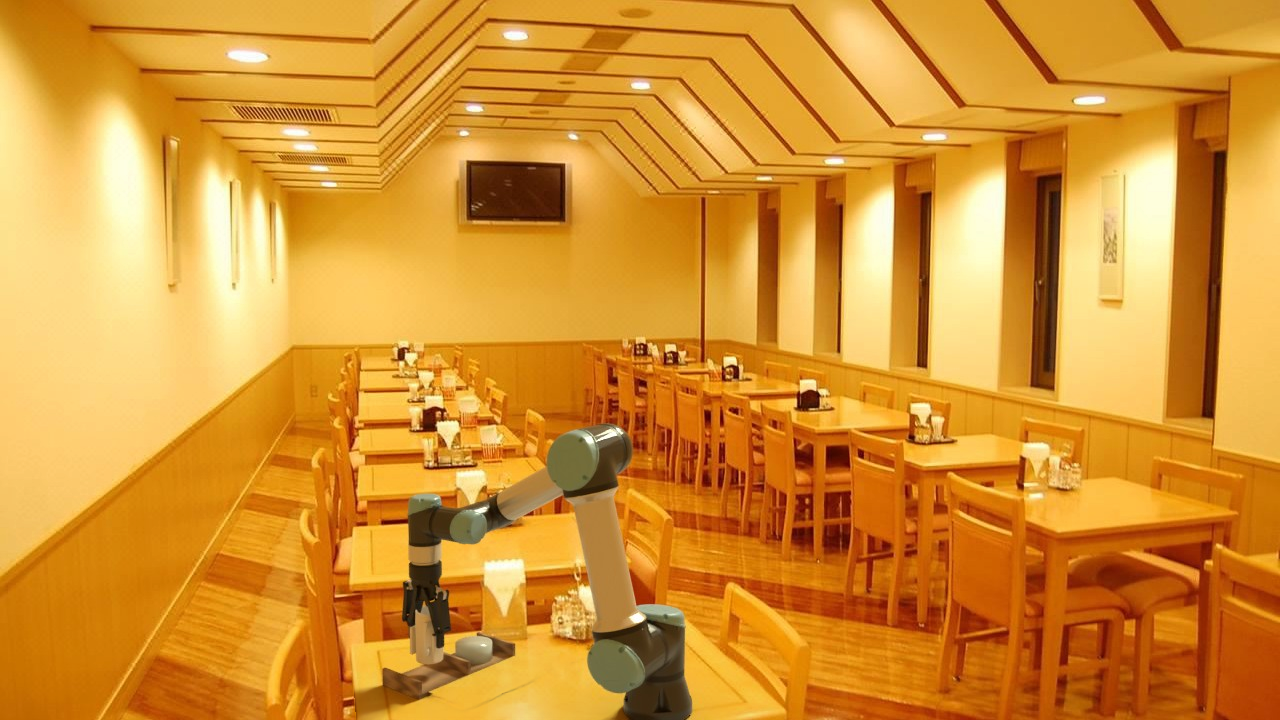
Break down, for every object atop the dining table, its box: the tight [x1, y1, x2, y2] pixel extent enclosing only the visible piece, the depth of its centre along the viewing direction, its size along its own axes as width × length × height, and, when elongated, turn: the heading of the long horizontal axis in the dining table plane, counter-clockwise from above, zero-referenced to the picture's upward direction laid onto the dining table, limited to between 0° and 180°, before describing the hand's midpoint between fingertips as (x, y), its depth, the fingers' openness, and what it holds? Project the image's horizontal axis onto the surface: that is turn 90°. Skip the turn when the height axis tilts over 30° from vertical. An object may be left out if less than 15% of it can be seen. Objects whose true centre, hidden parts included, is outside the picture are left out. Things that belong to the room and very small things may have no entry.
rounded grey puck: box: [454, 635, 492, 666], centre depth 249 cm, size 9×9×4 cm
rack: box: [381, 631, 516, 701], centre depth 244 cm, size 13×30×4 cm, turn 142°
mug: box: [415, 605, 445, 665], centre depth 237 cm, size 10×7×12 cm, turn 0°
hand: (426, 656), depth 237 cm, fingers closed on mug, 7 cm apart
